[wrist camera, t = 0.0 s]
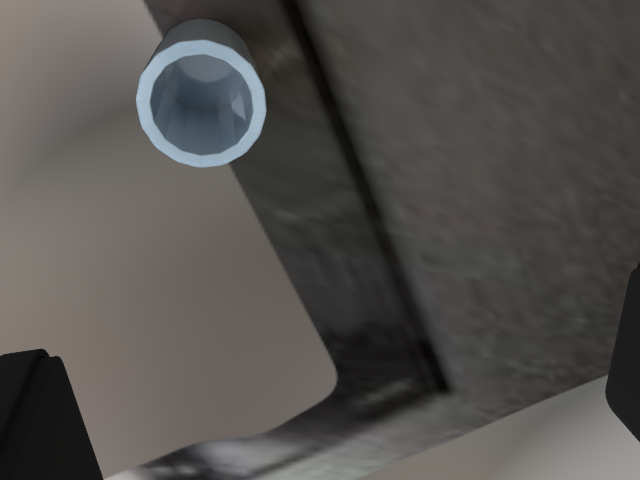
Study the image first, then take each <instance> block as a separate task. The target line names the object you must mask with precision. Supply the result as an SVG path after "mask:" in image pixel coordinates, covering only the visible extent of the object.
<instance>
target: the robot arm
mask: <svg viewBox="0 0 640 480" xmlns="http://www.w3.org/2000/svg"><path fill="white" fill-rule="evenodd" d="M605 393H606V399H607V402H608V404H609V406H610V408H611V409H612V411H613V412H614V413H615V414H616V416H617V417H618V418H619V419H620V420H621V421H622V422H623V424H624V425H625V426H626V427H627V428H628V429H629V430H630V432H631V433H632V434H633V435H634V436H635V437H636V438H637V440H638V441H639V442H640V263H639V264H638V267H637V268H636V269H634V270H633V271H632V272H631V275H630V277H629V282H628V287H627V291H626V296H625V301H624V305H623V310H622V315H621V319H620V324H619V328H618V333H617V338H616V342H615V347H614V352H613V356H612V361H611V366H610V370H609V375H608V380H607V385H606V391H605ZM0 480H103V477H102V474H101V471H100V468H99V465H98V462H97V459H96V456H95V454H94V451H93V448H92V445H91V442H90V439H89V436H88V433H87V431H86V428H85V425H84V422H83V419H82V416H81V413H80V410H79V407H78V404H77V401H76V399H75V396H74V393H73V390H72V387H71V384H70V381H69V378H68V376H67V373H66V369H65V367H64V364H63V362H62V360H61V358H60V357H58V356H54V357H50V356H49V354H48V353H47V352H46V351H45V350H44V349H36V350H29V351H23V352H16V353H10V354H4V355H2V356H0Z"/></svg>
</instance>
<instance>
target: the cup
mask: <svg viewBox="0 0 640 480" xmlns="http://www.w3.org/2000/svg"><path fill="white" fill-rule="evenodd" d="M136 105H137V110H138V114H139V119H140V124H141V125H142V128H143V130H144V131H145V133H146V134H147V135H148V137H149V139H150V140H151V142H152V143H153V144H154V146H155V147H157V149H159V150H160V151H162V152H163V153H165V154H166V155H167V156H169V157H170V158H172V159H173V160H175V161H177V162H179V163H183V164H188V165H191V166H195V167H201V168H202V167H210V166H219V165H224V164H227V163H229V162H230V161H232V160H234V159H236V158H238V157H240V156H242V155H243V154H244V153H246V152H247V151H248V150H249V148H250V147H251V146H252V145H253V143H254V142H255V141H256V140H257V138H258V137H259V135H260V134H261V131H262V127H263V124H264V120H265V117H266V112H267V108H266V99H265V90H264V87H263V84H262V81H261V78H260V76H259V73H258V71H257V68H256V65H255V63H254V60H253V58H252V55H251V53H250V52H249V50H248V47H247V46H246V44H245V42H244V40H242V38H241V37H240V36H239V35H238V34H237V33H236V32H235V31H234V30H232V29H231V28H230V27H228V26H226V25H224V24H222V23H220V22H217V21H214V20H210V19H193V20H189V21H185V22H183V23H181V24H179V25H177V26H176V27H174V28H173V29H171V30H170V31H169V32H168V33H167V34H166V36H165V37H164V38H163V40H162V41H161V42H160V44H159V45H158V47H157V49H156V50H155V52H154V54H153V55H152V57H151V59H150V61H149V62H148V64H147V66H146V67H145V69H144V71H143V72H142V74H141V77H140V81H139V86H138V91H137V96H136Z"/></svg>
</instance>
